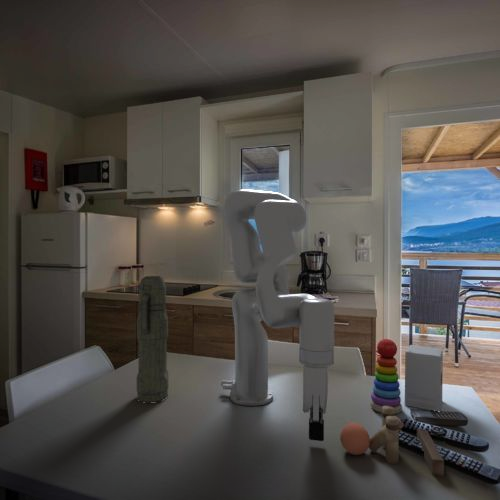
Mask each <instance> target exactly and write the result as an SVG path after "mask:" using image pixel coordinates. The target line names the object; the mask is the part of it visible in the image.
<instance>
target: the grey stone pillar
mask: <svg viewBox="0 0 500 500" xmlns="http://www.w3.org/2000/svg"><path fill="white" fill-rule="evenodd" d="M166 304H167V285H166V283H165V280H164V277H162V276H161V275H148V276H144V277H142V278H141V280H140V283H139V286H138V305H139V308H138V315H137V317H136V340H137V341H138V371H137V376H136V392H137V394H136V396H137V398H136V400H137V399H138V400H139V401H141V402H145V403H151V402H158V401H161V400H163V399H165V398H166V397H167V396H168V397H169V391H168V389H169V372H168V371H169V370H168V367H167V366H168V365H167V357H168V355H167V350H168V349H167V345H168V344H167V341H168V337H169V317H168V314H167V308H166ZM168 397H167V398H168ZM138 400H137V401H138ZM165 400H166V399H165ZM158 403H159V402H158Z"/></svg>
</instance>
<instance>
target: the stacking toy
mask: <svg viewBox="0 0 500 500" xmlns="http://www.w3.org/2000/svg"><path fill="white" fill-rule="evenodd" d="M376 349H377V352H378V355H379V356H377V358H376V362H377V363H376V365H375V370H376V371H375V372H374V380H373V384H374V385H373V387H372V393H371V395H370V398H371V400H370V404H369V405H370V407H371V408H372V409H373V410H374V411H375V412H378V413H381V414H382V407H383V406H391V407H393V408H394V415H396V414H400V413H401V411H402V410H403V406H402V404H401V403H402V400H401V390H400V386H401V385H400V382H399V379H400V378H399V377H400V376H399V374H398V373H397V372H398V367H397V366H396V365H397V364H398V361H397V359H396V358H395V356H396V355H397V352H398V346H397V344H396V343H395V342H394V341H393V340H391V339H389V338H383V339H381V340H379V342H378V343H377V345H376Z"/></svg>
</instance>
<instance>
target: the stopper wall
mask: <svg viewBox="0 0 500 500" xmlns="http://www.w3.org/2000/svg"><path fill="white" fill-rule="evenodd" d="M417 438H418V439H419V440H420V443H421V445H422V447H423V450H424V456H423V458H424V460H425V462H426V464H427V466H428V469H429V470H430V472H431V475H432V476H437V477H444V476H445V460H444V458H443V456H442V455H441V453H440V451H439V449H438V447H437V445H436V444H435V442H434V440H433V439H432V437H431V434H430V433H429V432H428V430H427V428H426V429H425V428H416V439H417Z"/></svg>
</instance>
